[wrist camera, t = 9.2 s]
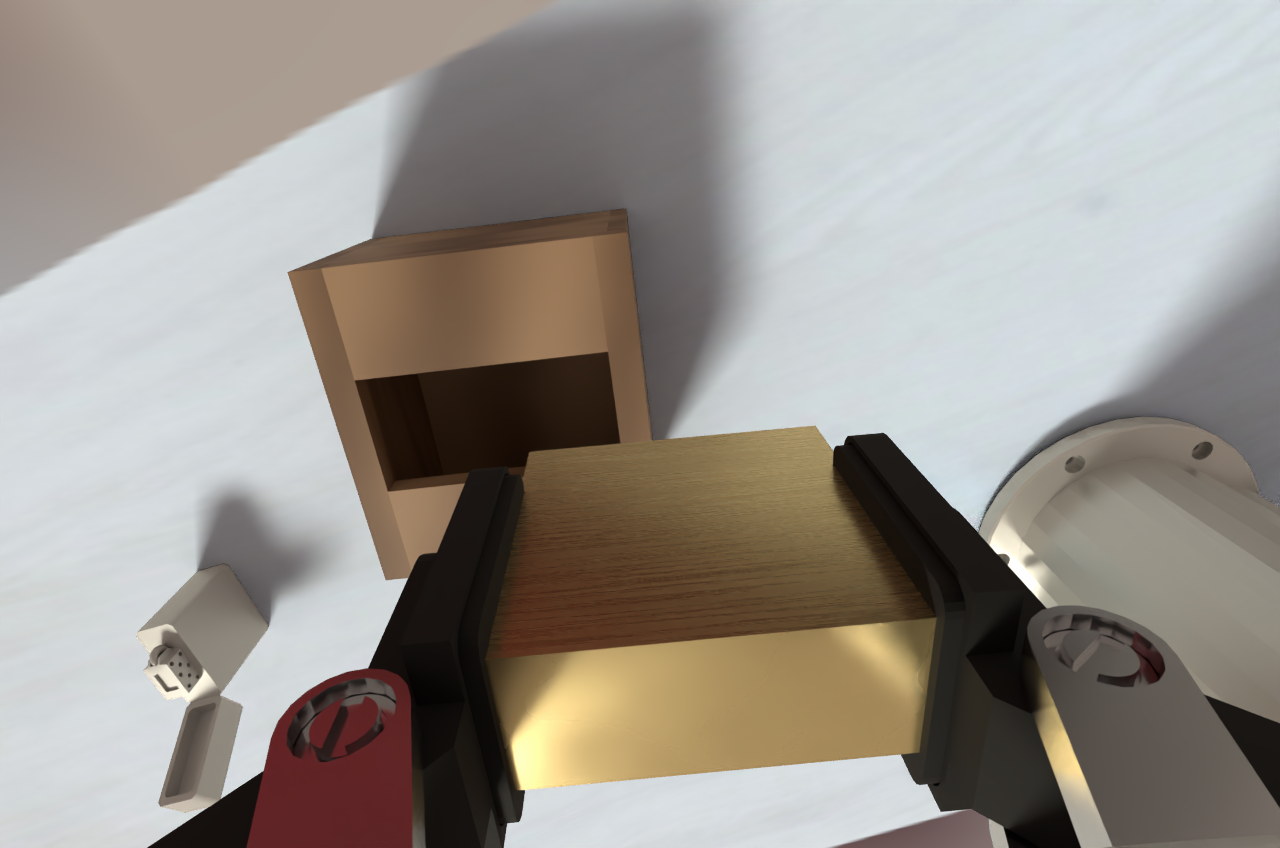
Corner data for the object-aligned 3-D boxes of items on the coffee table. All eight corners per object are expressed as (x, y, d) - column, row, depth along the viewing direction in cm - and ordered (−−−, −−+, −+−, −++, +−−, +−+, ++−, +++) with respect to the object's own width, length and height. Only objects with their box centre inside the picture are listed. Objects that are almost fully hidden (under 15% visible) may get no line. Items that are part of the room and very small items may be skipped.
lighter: (194, 572, 32) (65, 702, 25) (226, 562, 32) (106, 691, 24) (269, 680, 35) (173, 826, 27) (299, 672, 34) (211, 817, 27)
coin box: (626, 208, 26) (626, 232, 19) (655, 462, 30) (663, 550, 24) (371, 239, 26) (287, 272, 20) (436, 486, 30) (385, 580, 24)
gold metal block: (815, 425, 12) (948, 616, 7) (812, 523, 12) (931, 751, 8) (529, 451, 12) (477, 661, 7) (545, 547, 12) (508, 791, 8)
